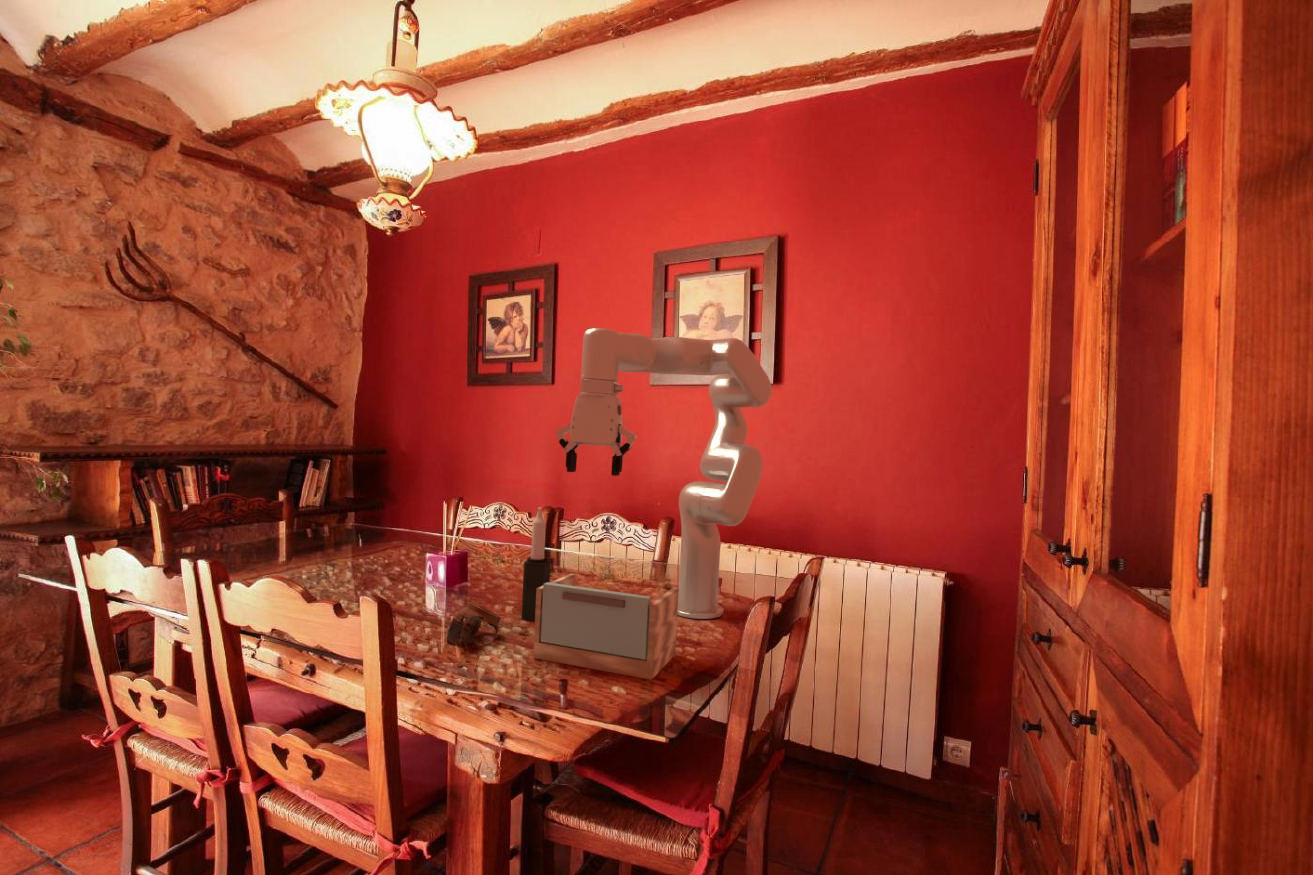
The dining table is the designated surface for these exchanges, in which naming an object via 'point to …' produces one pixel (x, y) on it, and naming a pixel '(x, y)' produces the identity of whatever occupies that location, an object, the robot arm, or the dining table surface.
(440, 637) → the dining table surface
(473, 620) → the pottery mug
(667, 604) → the wooden tray crate
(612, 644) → the panel
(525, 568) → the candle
